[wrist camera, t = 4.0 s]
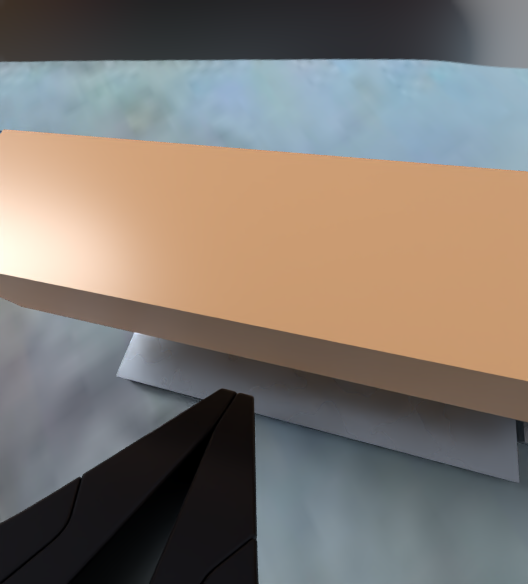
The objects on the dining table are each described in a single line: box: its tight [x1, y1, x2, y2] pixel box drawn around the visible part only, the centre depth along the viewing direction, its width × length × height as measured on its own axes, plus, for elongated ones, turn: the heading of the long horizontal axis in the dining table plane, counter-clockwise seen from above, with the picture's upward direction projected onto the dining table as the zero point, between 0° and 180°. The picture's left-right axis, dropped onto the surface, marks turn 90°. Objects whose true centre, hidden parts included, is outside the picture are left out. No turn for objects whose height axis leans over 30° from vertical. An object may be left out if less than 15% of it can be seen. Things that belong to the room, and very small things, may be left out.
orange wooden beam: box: [0, 129, 528, 422], centre depth 10 cm, size 24×5×9 cm, turn 76°
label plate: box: [116, 332, 519, 483], centre depth 15 cm, size 17×10×1 cm, turn 76°
